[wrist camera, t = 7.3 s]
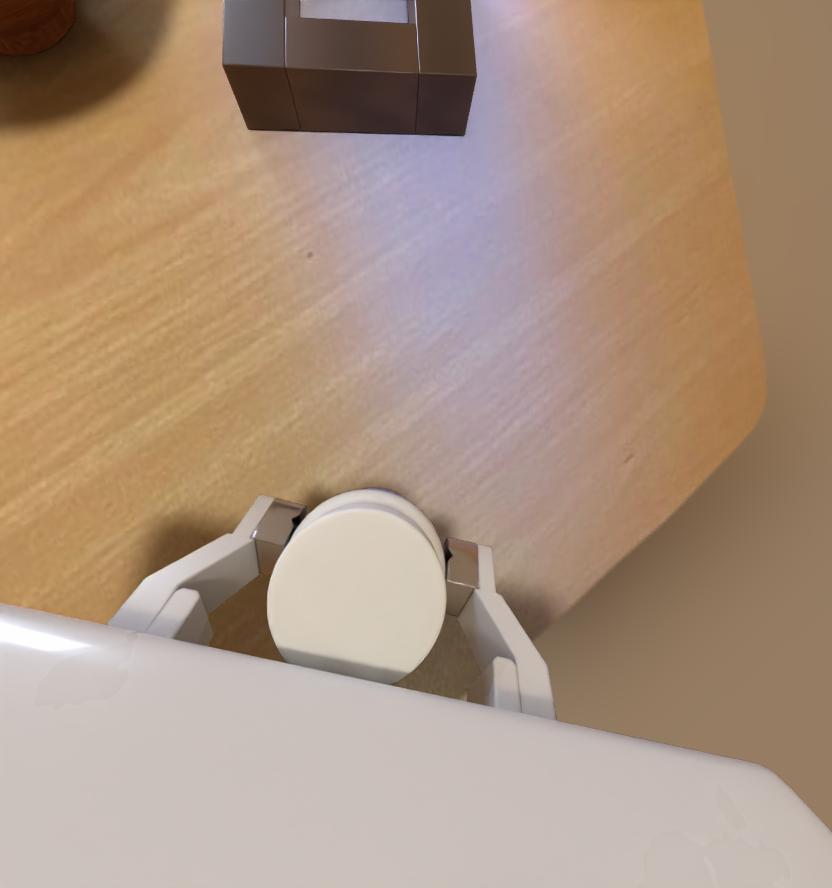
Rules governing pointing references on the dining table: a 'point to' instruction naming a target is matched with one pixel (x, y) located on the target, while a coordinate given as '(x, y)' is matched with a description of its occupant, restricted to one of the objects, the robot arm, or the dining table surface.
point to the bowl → (33, 24)
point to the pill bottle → (359, 588)
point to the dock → (351, 68)
